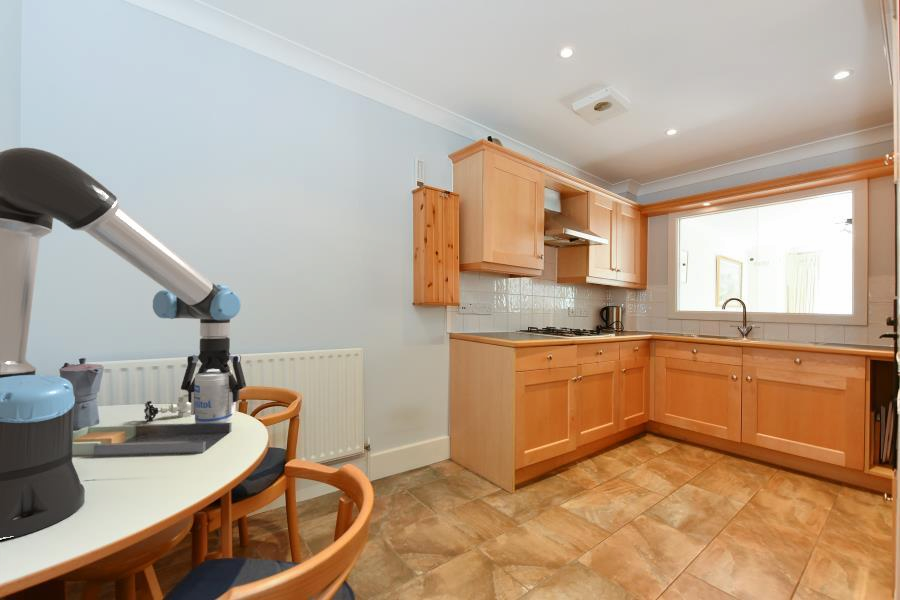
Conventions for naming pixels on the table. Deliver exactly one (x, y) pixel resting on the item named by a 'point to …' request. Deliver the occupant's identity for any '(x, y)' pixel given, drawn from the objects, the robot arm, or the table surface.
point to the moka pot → (84, 391)
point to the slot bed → (167, 440)
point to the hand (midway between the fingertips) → (213, 413)
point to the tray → (88, 447)
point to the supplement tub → (212, 397)
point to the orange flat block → (111, 437)
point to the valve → (169, 408)
